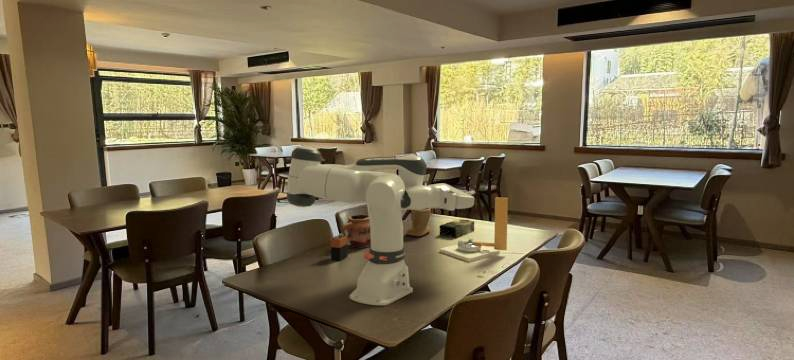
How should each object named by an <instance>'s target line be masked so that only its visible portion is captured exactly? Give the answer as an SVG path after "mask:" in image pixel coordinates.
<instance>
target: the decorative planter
mask: <svg viewBox="0 0 794 360" xmlns="http://www.w3.org/2000/svg"><path fill="white" fill-rule="evenodd" d="M345 231H346V233H345ZM340 234H343V235H344V236H347V241H349V243H350V246H351V247H353V248H358V249H360V248H361V249H362V248H367V247H368V248H369V247H371V235H370V220H369V214H357V215H352V216H351V215H350V216H349V217H348V220H347V222H346V223H345V224H343V225H342V227H341V233H340ZM346 234H347V235H346Z"/></svg>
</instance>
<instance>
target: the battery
mask: <svg viewBox="0 0 794 360" xmlns="http://www.w3.org/2000/svg"><path fill="white" fill-rule="evenodd" d="M347 236H348V235H346V236H344V235H343V234H342V233H338V235H334V237H331V238H330V258H331V261H337V262H340V261H342V260H344V259H346V258H348V256H349V255H348V254H349V253H348V250H349V249H348V239H347Z"/></svg>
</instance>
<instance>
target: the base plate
mask: <svg viewBox="0 0 794 360" xmlns="http://www.w3.org/2000/svg"><path fill="white" fill-rule="evenodd" d="M500 251H501V250H494V247H490V246H481V251H479V252H462V251H459V250H458V243H457V244H453V245H449V246H444V247H441V248H439V253H442V254H445V255H447V256H451V257H454V258H455V259H456V258H457V259H459V260H462V261H464V262H468V263H472V262H475V261H479V260H482V259H487V258H491V257H493V256H497V255H500V254H501V253H500Z"/></svg>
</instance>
